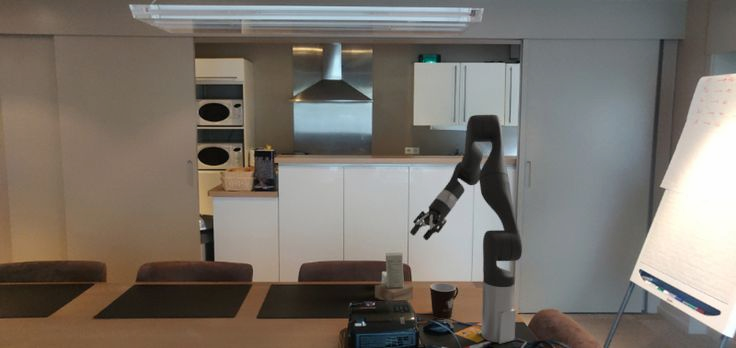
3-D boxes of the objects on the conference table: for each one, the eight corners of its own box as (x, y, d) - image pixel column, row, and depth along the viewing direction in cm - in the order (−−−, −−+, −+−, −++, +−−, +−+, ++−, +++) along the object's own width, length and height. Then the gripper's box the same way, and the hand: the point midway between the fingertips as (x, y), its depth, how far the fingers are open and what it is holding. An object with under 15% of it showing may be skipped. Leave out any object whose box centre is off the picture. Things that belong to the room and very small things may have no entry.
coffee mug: (435, 321, 165) (436, 292, 164) (425, 311, 174) (426, 284, 172) (467, 318, 168) (468, 289, 167) (456, 309, 177) (457, 281, 176)
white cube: (381, 286, 200) (381, 271, 200) (396, 285, 202) (396, 270, 201) (384, 291, 195) (385, 276, 194) (399, 290, 196) (400, 275, 195)
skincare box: (403, 284, 188) (403, 252, 187) (403, 287, 184) (403, 255, 183) (386, 284, 188) (386, 252, 187) (386, 287, 184) (385, 255, 183)
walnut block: (412, 299, 186) (412, 286, 186) (393, 306, 180) (393, 292, 179) (393, 292, 194) (394, 280, 193) (374, 298, 187) (374, 285, 187)
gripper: (426, 195, 198) (402, 226, 194) (449, 200, 186) (423, 234, 181) (437, 207, 201) (413, 238, 197) (460, 213, 189) (435, 246, 185)
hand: (418, 236), depth 189 cm, fingers open, 8 cm apart
